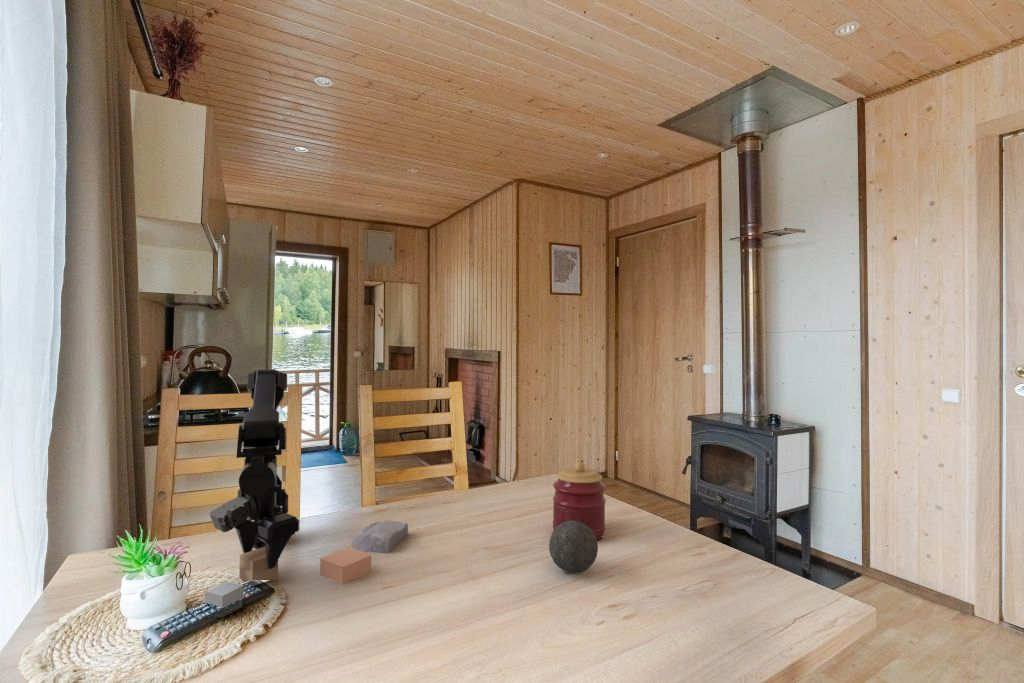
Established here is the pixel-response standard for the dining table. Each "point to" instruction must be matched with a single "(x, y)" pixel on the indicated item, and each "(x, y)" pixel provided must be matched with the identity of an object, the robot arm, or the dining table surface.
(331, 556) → the terracotta block
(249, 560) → the walnut cube
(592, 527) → the canister
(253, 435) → the robot arm
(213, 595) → the grey block
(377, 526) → the stone block
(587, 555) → the decorative ball
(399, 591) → the dining table surface
